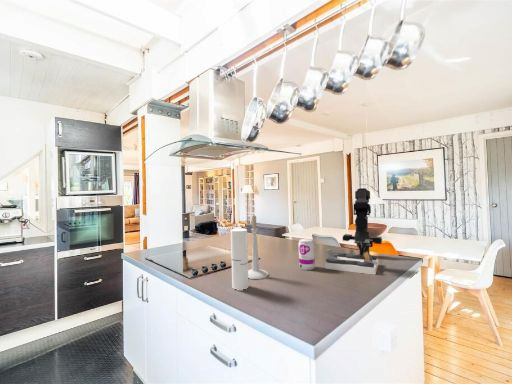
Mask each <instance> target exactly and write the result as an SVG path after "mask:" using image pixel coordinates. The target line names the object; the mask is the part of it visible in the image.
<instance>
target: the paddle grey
mask: <svg viewBox="0 0 512 384" xmlns="http://www.w3.org/2000/svg"><path fill="white" fill-rule="evenodd" d="M326 253H327V255H328V257H329V256H330V257H335V256H334V252H333V250H332V248H328V249H327V250H326Z"/></svg>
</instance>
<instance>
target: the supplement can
mask: <svg viewBox="0 0 512 384" xmlns="http://www.w3.org/2000/svg"><path fill="white" fill-rule="evenodd" d="M315 261H316V259H315V242H314V239H311V238H301V239H299V241H298V265H299V268H300V270H305V271H312V270H314V269H315V268H316V265H315V264H316V262H315Z"/></svg>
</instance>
